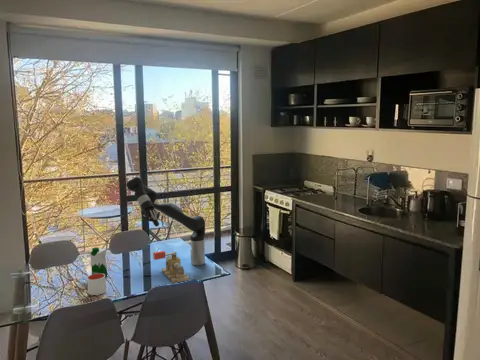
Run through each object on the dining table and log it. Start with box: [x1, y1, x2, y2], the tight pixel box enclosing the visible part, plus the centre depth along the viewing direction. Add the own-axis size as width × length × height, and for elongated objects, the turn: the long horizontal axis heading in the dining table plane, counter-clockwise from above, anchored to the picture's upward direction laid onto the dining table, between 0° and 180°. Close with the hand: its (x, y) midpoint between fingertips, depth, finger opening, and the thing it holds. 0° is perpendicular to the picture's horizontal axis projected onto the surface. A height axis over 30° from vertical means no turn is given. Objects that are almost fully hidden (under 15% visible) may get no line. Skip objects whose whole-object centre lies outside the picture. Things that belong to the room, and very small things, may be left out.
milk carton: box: [88, 247, 109, 278], centre depth 265 cm, size 9×9×20 cm
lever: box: [152, 250, 177, 261], centre depth 260 cm, size 3×15×4 cm, turn 118°
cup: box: [86, 273, 107, 296], centre depth 241 cm, size 10×10×10 cm
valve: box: [161, 255, 190, 284], centre depth 264 cm, size 24×10×14 cm, turn 28°
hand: (157, 225), depth 255 cm, fingers closed
